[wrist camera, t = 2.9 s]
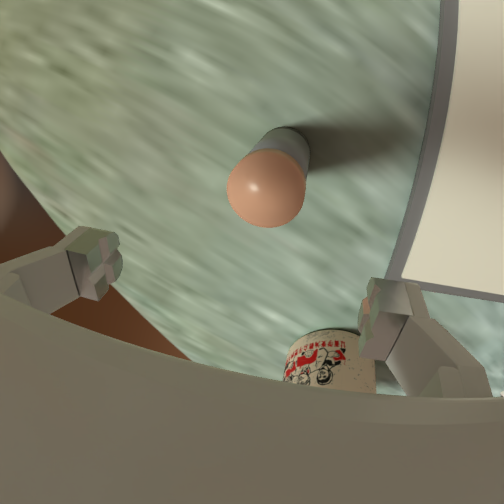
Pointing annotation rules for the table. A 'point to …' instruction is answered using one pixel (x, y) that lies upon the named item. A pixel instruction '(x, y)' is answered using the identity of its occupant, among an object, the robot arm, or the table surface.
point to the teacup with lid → (330, 362)
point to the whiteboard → (460, 163)
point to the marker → (271, 179)
